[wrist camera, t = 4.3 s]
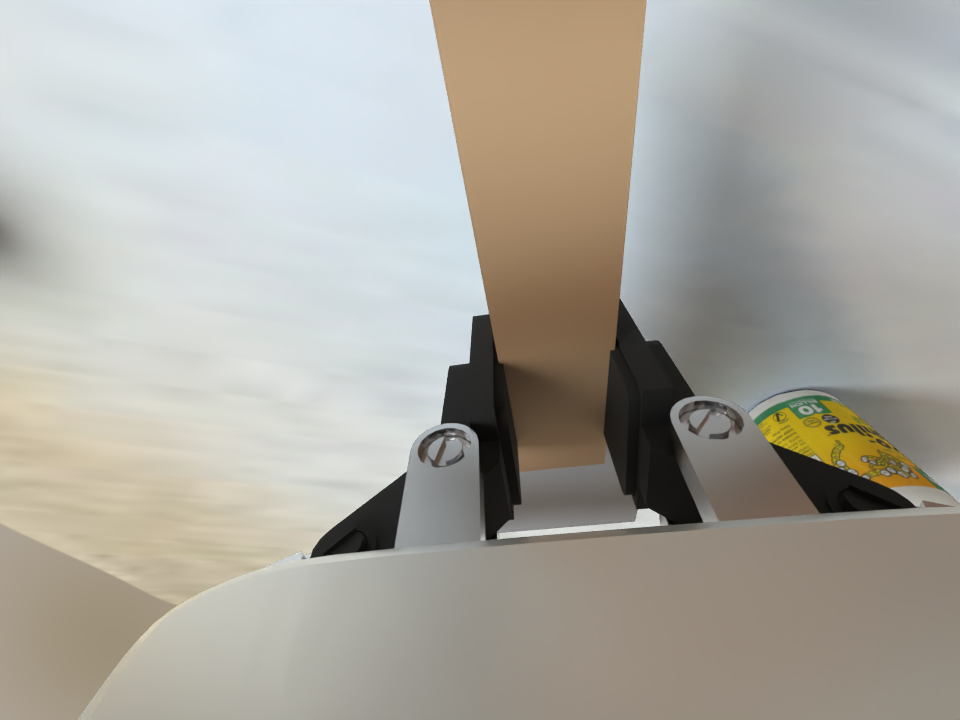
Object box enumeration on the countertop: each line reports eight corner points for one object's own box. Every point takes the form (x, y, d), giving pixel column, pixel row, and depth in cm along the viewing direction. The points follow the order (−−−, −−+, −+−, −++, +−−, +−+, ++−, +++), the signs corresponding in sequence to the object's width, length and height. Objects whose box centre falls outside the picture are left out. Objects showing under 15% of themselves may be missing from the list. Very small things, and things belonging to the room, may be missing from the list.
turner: (306, -137, 6) (219, -166, 4) (724, -245, 5) (885, -347, 3) (490, 482, 19) (493, 552, 17) (620, 469, 18) (640, 540, 16)
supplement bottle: (711, 447, 23) (825, 632, 15) (780, 371, 21) (963, 544, 13) (791, 476, 24) (941, 666, 16) (868, 406, 22) (1094, 591, 13)
